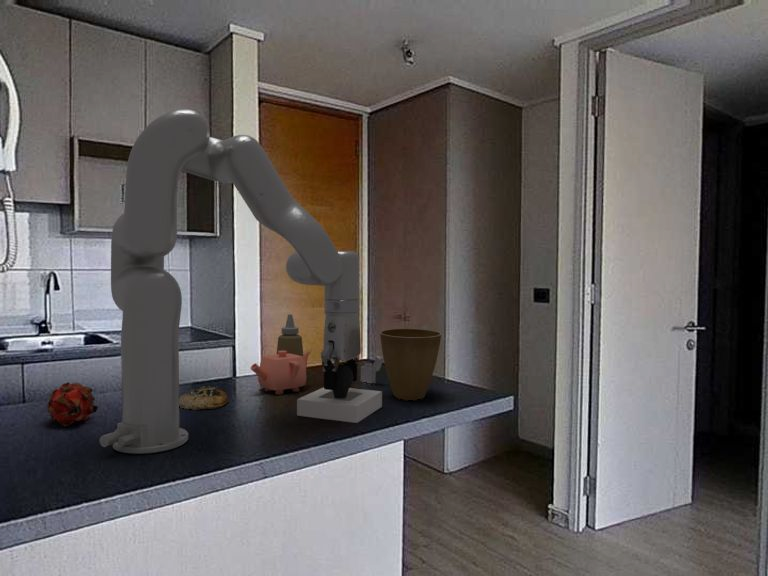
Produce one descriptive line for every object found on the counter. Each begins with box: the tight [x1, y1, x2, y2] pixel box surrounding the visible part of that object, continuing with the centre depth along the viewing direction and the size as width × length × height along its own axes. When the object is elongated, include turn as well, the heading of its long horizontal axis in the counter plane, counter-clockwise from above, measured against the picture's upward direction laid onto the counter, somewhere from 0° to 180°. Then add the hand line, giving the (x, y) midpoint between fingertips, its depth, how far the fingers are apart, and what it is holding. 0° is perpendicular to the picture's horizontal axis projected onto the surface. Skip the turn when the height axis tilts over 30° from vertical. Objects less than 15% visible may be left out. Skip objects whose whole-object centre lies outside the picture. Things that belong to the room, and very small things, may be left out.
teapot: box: [250, 350, 313, 395], centre depth 143 cm, size 14×12×10 cm
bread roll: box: [179, 385, 229, 411], centre depth 129 cm, size 11×11×5 cm
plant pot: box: [379, 328, 442, 401], centre depth 137 cm, size 15×15×16 cm
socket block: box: [296, 386, 383, 424], centre depth 124 cm, size 14×14×4 cm
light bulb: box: [332, 363, 354, 401], centre depth 124 cm, size 6×6×10 cm
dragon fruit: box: [46, 382, 99, 427], centre depth 114 cm, size 8×8×12 cm
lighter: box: [360, 354, 384, 384], centre depth 152 cm, size 7×2×8 cm, turn 48°
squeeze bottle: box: [276, 314, 304, 357], centre depth 156 cm, size 8×8×18 cm
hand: (341, 384), depth 124 cm, fingers open, 9 cm apart
